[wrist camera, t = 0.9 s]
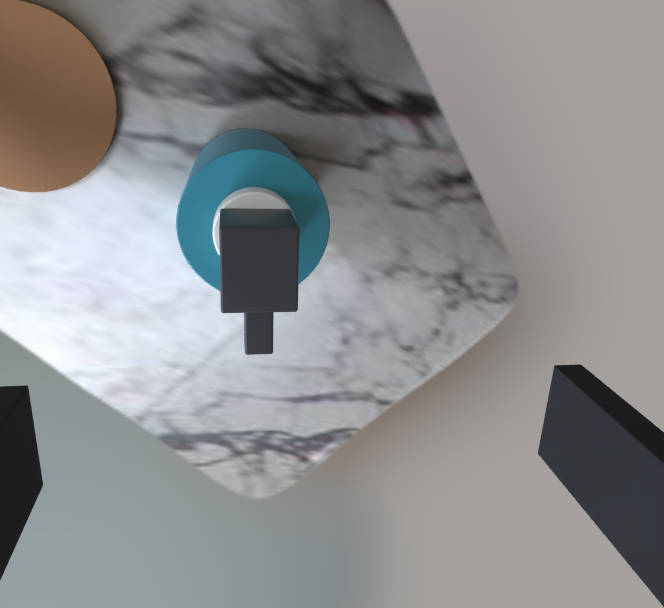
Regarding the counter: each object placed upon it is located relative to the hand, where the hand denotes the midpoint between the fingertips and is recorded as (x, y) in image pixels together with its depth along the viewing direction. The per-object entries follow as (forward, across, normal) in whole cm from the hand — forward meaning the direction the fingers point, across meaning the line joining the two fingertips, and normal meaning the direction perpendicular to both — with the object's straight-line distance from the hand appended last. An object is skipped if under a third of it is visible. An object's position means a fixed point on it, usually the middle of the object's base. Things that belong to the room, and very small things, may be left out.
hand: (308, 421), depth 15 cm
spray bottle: (+20, -1, +2) cm, 20 cm away
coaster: (+20, -12, +6) cm, 24 cm away
